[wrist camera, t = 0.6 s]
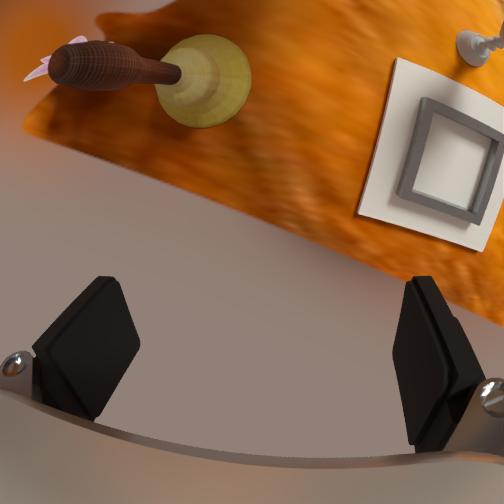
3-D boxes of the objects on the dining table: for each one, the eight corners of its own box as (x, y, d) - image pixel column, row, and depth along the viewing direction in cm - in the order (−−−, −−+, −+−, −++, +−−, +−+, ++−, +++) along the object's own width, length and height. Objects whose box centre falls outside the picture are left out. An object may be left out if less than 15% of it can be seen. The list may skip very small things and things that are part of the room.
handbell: (199, 148, 38) (66, 216, 16) (138, 83, 35) (-23, 93, 13) (273, 81, 33) (215, 39, 11) (205, 15, 30) (78, -65, 8)
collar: (421, 97, 30) (427, 97, 28) (500, 134, 29) (507, 136, 27) (395, 193, 36) (399, 198, 34) (473, 220, 35) (479, 226, 33)
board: (395, 58, 29) (397, 57, 28) (520, 119, 28) (524, 120, 27) (357, 211, 38) (358, 213, 38) (479, 249, 37) (482, 252, 36)
